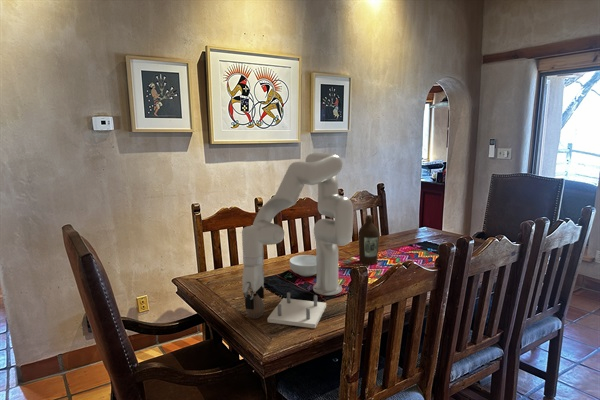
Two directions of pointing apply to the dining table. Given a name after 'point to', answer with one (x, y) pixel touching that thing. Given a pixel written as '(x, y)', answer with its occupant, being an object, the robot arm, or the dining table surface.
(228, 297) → the dining table surface
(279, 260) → the dining table surface
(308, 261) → the cereal bowl
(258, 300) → the vase
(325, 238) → the robot arm
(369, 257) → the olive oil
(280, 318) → the stand
